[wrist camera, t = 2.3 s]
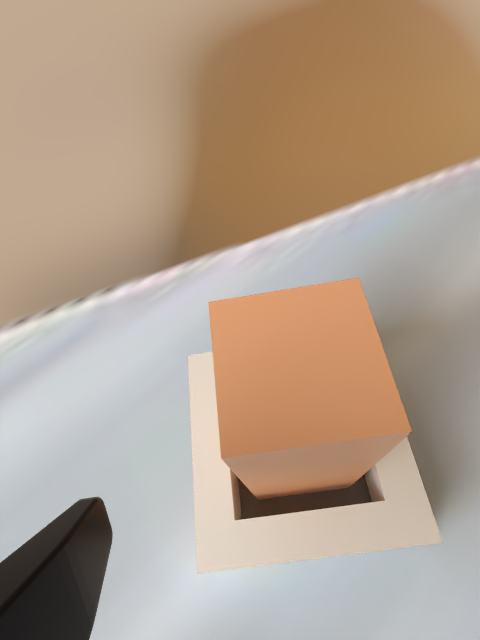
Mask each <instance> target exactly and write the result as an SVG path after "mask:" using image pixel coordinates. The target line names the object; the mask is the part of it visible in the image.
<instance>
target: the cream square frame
mask: <svg viewBox="0 0 480 640" xmlns="http://www.w3.org/2000/svg"><path fill="white" fill-rule="evenodd" d="M188 365H189V389H190V413H191V437H192V460H193V484H194V508H195V532H196V556H197V574H199V573H207V572H215V571H223V570H231V569H239V568H247V567H255V566H263V565H271V564H279V563H286V562H294V561H302V560H310V559H318V558H326V557H334V556H342V555H350V554H358V553H366V552H374V551H381V550H389V549H397V548H405V547H413V546H421V545H429V544H437V543H443V541H442V538H441V535H440V532H439V530H438V527H437V524H436V521H435V518H434V515H433V512H432V509H431V506H430V503H429V500H428V497H427V494H426V491H425V488H424V485H423V482H422V479H421V476H420V473H419V470H418V467H417V464H416V462H415V459H414V456H413V453H412V450H411V447H410V444H409V441H408V438H407V437H405V438H404V439H403V440H402V441H401V442H400V443H399V444H398V445H396V446H395V447H394V448H393V449H392V450H391V451H390V452H389V453H387V454H386V455H385V456H384V457H383V458H382V459H381V460H380V461H378V462H377V463H376V464H375V465H374V466H373V467H372V468H371V469H369V470H368V471H367V472H366V473H365V474H364V475H365V478H366V482H367V486H368V490H369V493H370V497H371V501H372V502H370V503H363V504H355V505H348V506H340V507H332V508H325V509H317V510H310V511H302V512H295V513H287V514H280V515H272V516H265V517H257V518H249V519H242V514H241V504H240V494H239V484H238V477H237V476H236V475H235V473H234V472H233V471H232V470H231V469H230V468H229V467H228V466H227V464H226V463H225V462H224V461H223V460H222V459H221V451H220V439H219V426H218V414H217V401H216V389H215V376H214V364H213V352H207V353H201V354H194V355H188Z"/></svg>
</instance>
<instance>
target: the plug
mask: <svg viewBox="0 0 480 640" xmlns="http://www.w3.org/2000/svg"><path fill="white" fill-rule="evenodd" d="M209 314H210V327H211V339H212V352H213V364H214V376H215V389H216V401H217V414H218V426H219V439H220V451H221V459H222V460H223V461H224V462H225V463H226V464H227V466H228V467H229V468H230V469H231V470H232V471H233V472H234V473H235V475H236V476H237V477H238V478H239V479H240V480H241V481H242V482H243V483H244V485H245V486H246V487H247V488H248V489H249V490H250V491H251V492H252V494H253V495H254V496H255V497H256V498H257V499H258V500H262V499H269V498H277V497H284V496H292V495H299V494H306V493H314V492H321V491H329V490H336V489H343V488H349V487H350V486H351V485H353V484H354V483H355V482H356V481H357V480H358V479H359V478H360V477H362V476H363V475H364V474H365V473H366V472H367V471H368V470H369V469H371V468H372V467H373V466H374V465H375V464H376V463H377V462H378V461H380V460H381V459H382V458H383V457H384V456H385V455H386V454H387V453H389V452H390V451H391V450H392V449H393V448H394V447H395V446H396V445H398V444H399V443H400V442H401V441H402V440H403V439H404V438H405V437H407V436H408V435H409V434H410V433H411V432H412V429H411V426H410V424H409V421H408V418H407V415H406V412H405V409H404V406H403V403H402V401H401V398H400V395H399V392H398V389H397V386H396V383H395V380H394V378H393V375H392V372H391V369H390V366H389V363H388V360H387V357H386V355H385V352H384V349H383V346H382V343H381V340H380V337H379V334H378V332H377V329H376V326H375V323H374V320H373V317H372V314H371V311H370V309H369V306H368V303H367V300H366V297H365V294H364V291H363V288H362V286H361V283H360V280H359V278H354V279H348V280H342V281H336V282H329V283H323V284H317V285H311V286H305V287H298V288H292V289H286V290H280V291H274V292H267V293H261V294H255V295H249V296H243V297H236V298H230V299H224V300H218V301H212V302H209Z"/></svg>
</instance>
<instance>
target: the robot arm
mask: <svg viewBox="0 0 480 640" xmlns="http://www.w3.org/2000/svg"><path fill="white" fill-rule="evenodd" d="M111 544H112V528H111V524H110V521H109V518H108V515H107V511H106V508H105V505H104V502H103V500H102V499H101V498H99V497H92V498H85V499H81V500H79V501H77V502H76V503H75V504H73V505H72V506H71V507H70V508H68V509H67V510H66V511H65V512H63V513H62V514H61V515H60V516H58V517H57V518H56V519H55V520H53V521H52V522H51V523H50V524H48V525H47V526H46V527H45V528H43V529H42V530H41V531H40V532H38V533H37V534H36V535H35V536H33V537H32V538H31V539H30V540H28V541H27V542H26V543H25V544H23V545H22V546H21V547H20V548H18V549H17V550H16V551H15V552H13V553H12V554H11V555H10V556H8V557H7V558H6V559H5V560H3V561H2V562H1V563H0V640H89V638H90V635H91V631H92V628H93V624H94V620H95V616H96V612H97V608H98V603H99V598H100V594H101V589H102V585H103V580H104V576H105V571H106V567H107V562H108V558H109V553H110V549H111Z"/></svg>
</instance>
